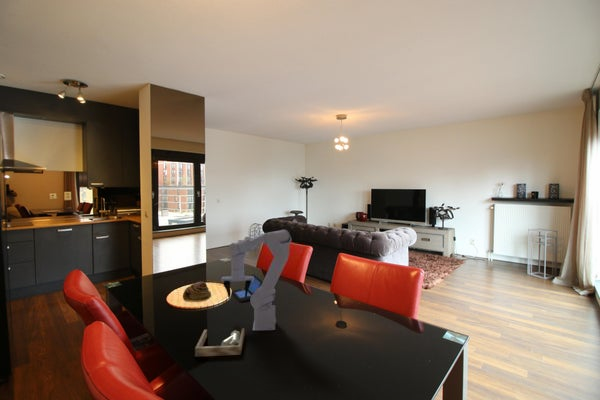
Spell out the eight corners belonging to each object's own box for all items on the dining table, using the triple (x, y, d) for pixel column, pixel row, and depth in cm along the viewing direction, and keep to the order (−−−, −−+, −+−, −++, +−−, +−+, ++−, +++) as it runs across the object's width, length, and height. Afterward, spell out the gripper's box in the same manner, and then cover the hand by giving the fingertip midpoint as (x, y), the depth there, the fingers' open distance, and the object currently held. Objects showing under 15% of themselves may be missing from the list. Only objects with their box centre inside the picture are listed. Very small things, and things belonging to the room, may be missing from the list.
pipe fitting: (221, 353, 102) (239, 350, 103) (220, 343, 101) (239, 340, 103) (222, 341, 109) (240, 338, 111) (222, 332, 109) (239, 329, 110)
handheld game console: (230, 293, 157) (230, 277, 157) (253, 289, 164) (253, 273, 164) (239, 303, 144) (239, 286, 144) (263, 298, 151) (263, 281, 150)
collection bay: (244, 335, 113) (244, 328, 113) (240, 354, 100) (240, 346, 100) (204, 336, 112) (204, 329, 111) (195, 356, 99) (195, 348, 98)
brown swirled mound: (206, 301, 147) (206, 286, 146) (178, 300, 147) (178, 285, 146) (214, 291, 160) (214, 277, 159) (188, 291, 160) (188, 277, 160)
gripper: (254, 265, 133) (254, 292, 134) (223, 265, 132) (223, 293, 132) (252, 269, 126) (252, 298, 127) (220, 270, 125) (220, 299, 125)
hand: (237, 296), depth 129 cm, fingers open, 7 cm apart
